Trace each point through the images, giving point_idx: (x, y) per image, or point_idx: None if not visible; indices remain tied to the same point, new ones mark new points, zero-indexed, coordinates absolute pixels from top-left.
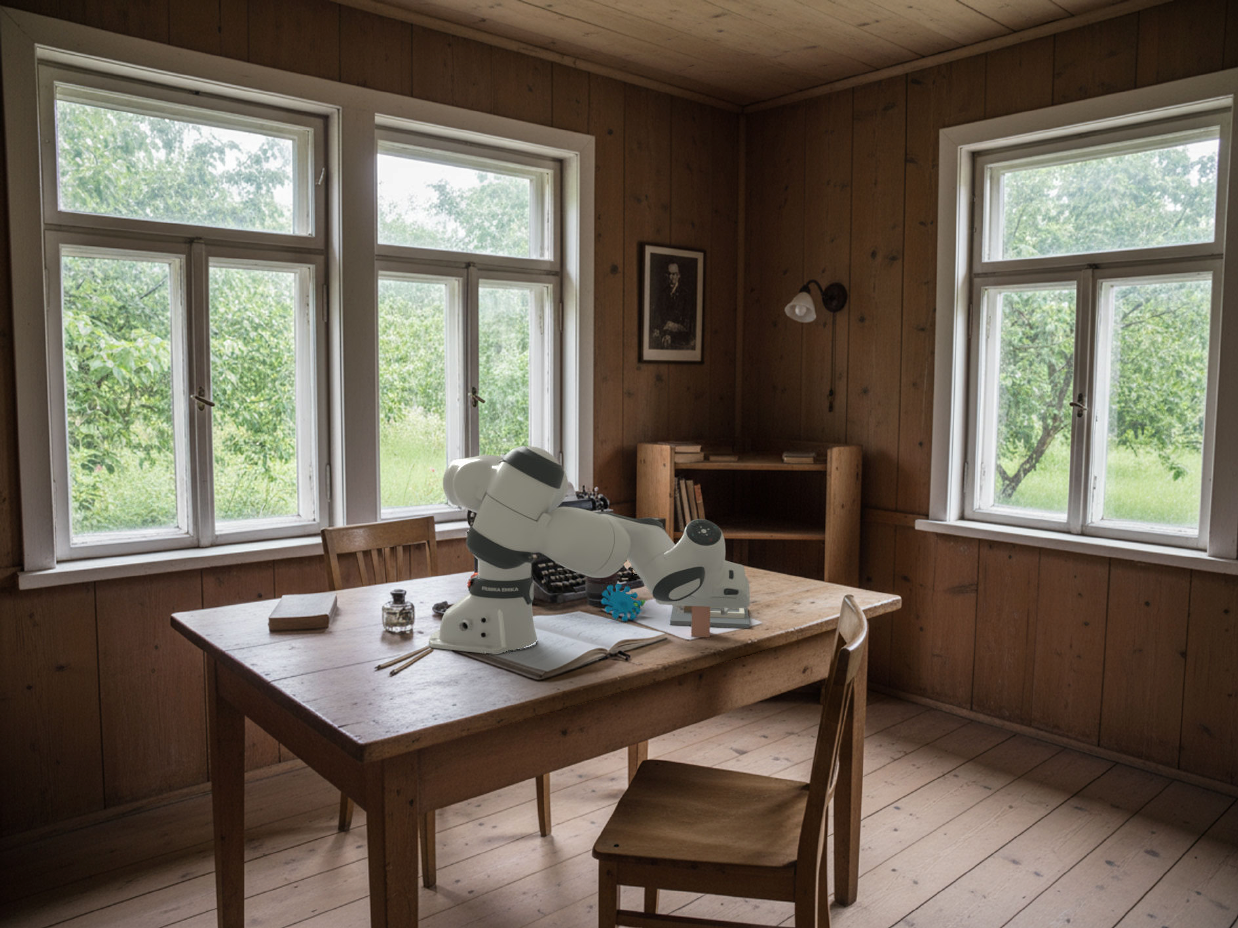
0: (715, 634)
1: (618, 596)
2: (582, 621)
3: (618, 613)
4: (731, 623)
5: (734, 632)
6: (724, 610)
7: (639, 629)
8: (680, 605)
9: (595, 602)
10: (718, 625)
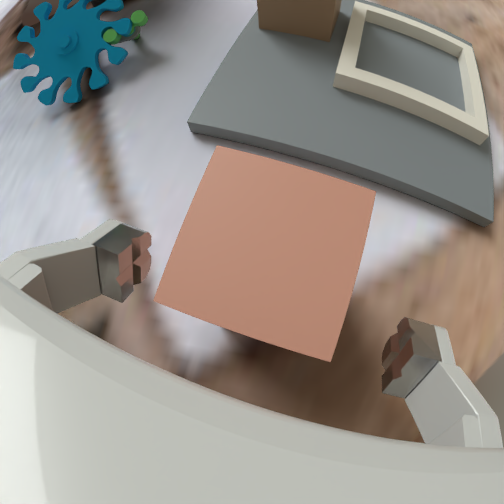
0: None
1: (57, 29)
2: (4, 115)
3: (51, 89)
4: (436, 196)
5: (427, 276)
6: (410, 391)
7: (67, 187)
8: (99, 264)
9: (94, 2)
10: (384, 181)
